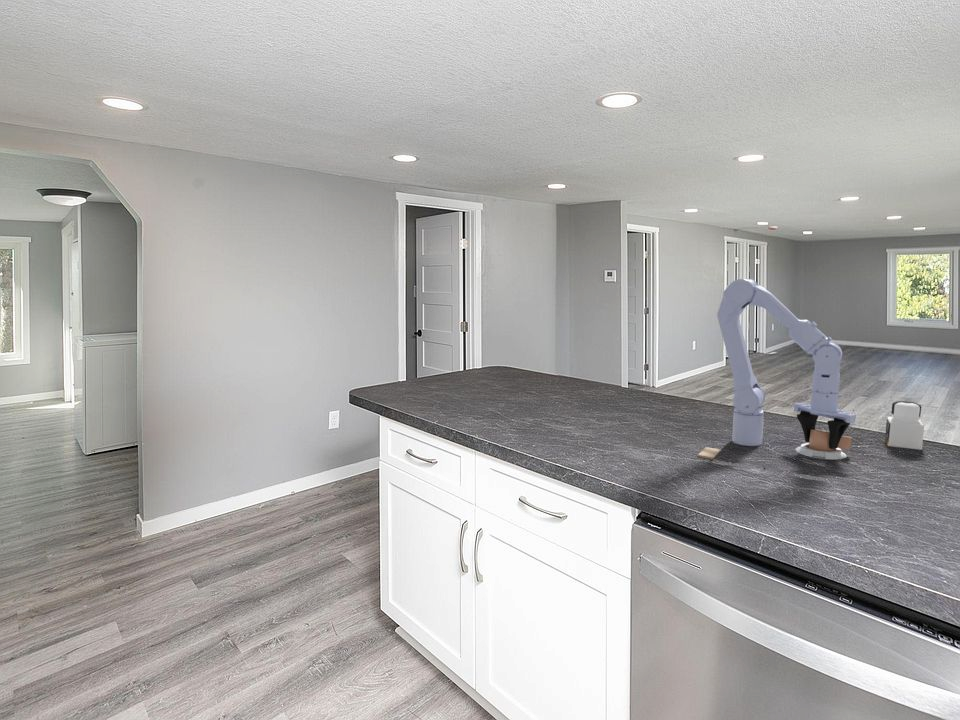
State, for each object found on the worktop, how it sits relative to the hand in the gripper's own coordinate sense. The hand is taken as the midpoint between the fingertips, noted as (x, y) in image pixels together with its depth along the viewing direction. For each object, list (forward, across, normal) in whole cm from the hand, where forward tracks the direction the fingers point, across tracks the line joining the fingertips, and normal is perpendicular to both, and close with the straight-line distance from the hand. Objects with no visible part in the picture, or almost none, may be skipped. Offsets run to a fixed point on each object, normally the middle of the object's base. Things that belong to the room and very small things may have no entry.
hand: (821, 444), depth 141 cm
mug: (+2, +1, +1) cm, 2 cm away
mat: (+3, -11, -23) cm, 25 cm away
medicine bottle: (+3, +5, +26) cm, 26 cm away
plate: (+3, 0, 0) cm, 3 cm away
